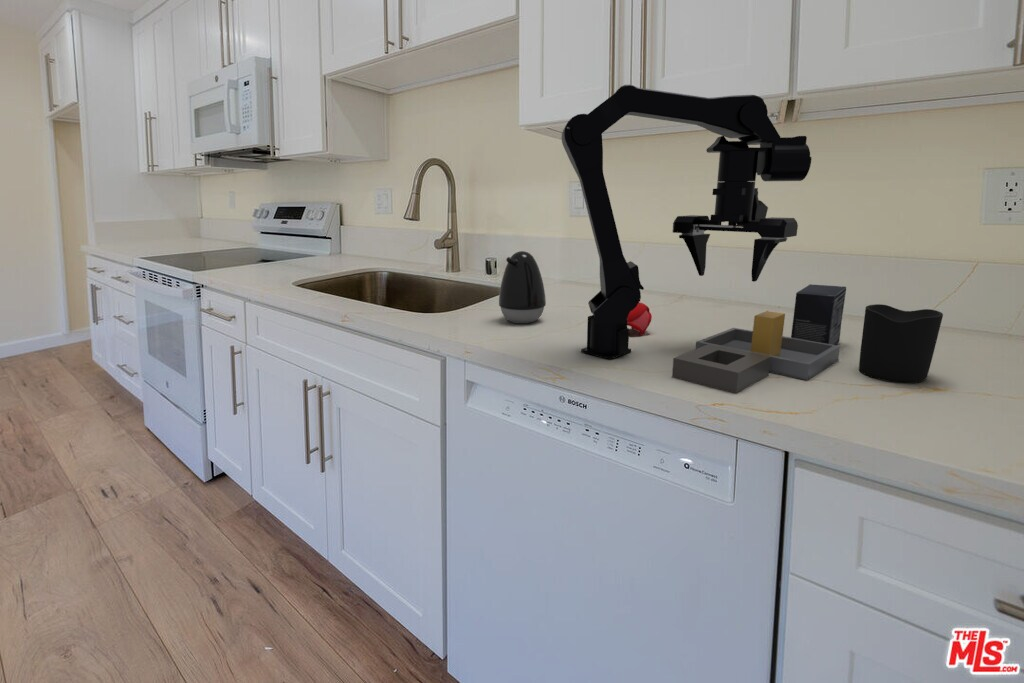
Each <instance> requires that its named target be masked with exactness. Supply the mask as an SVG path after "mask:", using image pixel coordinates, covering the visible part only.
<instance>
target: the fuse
mask: <svg viewBox="0 0 1024 683" xmlns="http://www.w3.org/2000/svg"><path fill="white" fill-rule="evenodd" d="M785 317H786V313H784V312H777V311H770V310H769V311H768V310H765V311H763V312H760V313H758V314H756V315H754V318H753V327H752V328H753V329H752V331H753V335H752V344H751V351H752V352H757V353H762V354H767V355H772V356H777V355H779V354H780V351H781V343H782V336H784V335H783V333H784V328H785V327H784V326H785V319H786V318H785Z"/></svg>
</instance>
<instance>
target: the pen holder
mask: <svg viewBox="0 0 1024 683" xmlns="http://www.w3.org/2000/svg"><path fill="white" fill-rule="evenodd" d="M864 310H865V311H864V316H863V317H864V320H863V327H862V336H861V345H860V352H859V353H860V354H859V360H858V361H859V362H858V368H859V370H860V372H861V373H862V374H864V375H866V376H868V377H870V378H873V379H877V380H881V381H887V382H891V383H892V382H893V383H900V384H916V383H921V382H923V381H924V380H926V379H928V376H929V373H930V372H929V371H930V368H931V364H932V361H933V357H934V353H935V349H936V345H937V341H938V336H939V333H940V329H941V325H942V322H943V317H944V314H943V313H942V312H941V311H938V310H937V309H929V308H927V309H926V308H925V309H918V310H902V309H899V308H897V307H892V306H891V305H887V304H882V303H881V304H880V303H879V304H877V303H875V304H869V305H866V306H865V309H864Z"/></svg>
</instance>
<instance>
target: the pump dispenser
mask: <svg viewBox="0 0 1024 683" xmlns="http://www.w3.org/2000/svg"><path fill="white" fill-rule="evenodd" d="M505 261H506V262H507V264H506V266H505V268H504V272H503V276H502V278H501V283H500V287H499V296H498V306H499V307H500V310H501V314H502V315H503V317H504V318H505V319H506V320H508V321H509V322H511V323H513V324H514V323H515V324H530V323H534V322H536V321H537V320H538V319H539V318H540V317H541V316H542V315H543V312H544V309H545V307H546V304H547V300H546V298H547V297H546V291H545V285H544V281H543V277H542V274H541V270H540V268H539V265H538V263H537V261H536V259H535V258H534V256H533V254H531V253H530V252H527V251H524V250H521V251H520V250H519V251H517V252H515V253H513V254H512V255H511V256H508V257H507V258H506V260H505Z"/></svg>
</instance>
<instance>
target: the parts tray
mask: <svg viewBox="0 0 1024 683" xmlns="http://www.w3.org/2000/svg"><path fill="white" fill-rule="evenodd" d="M752 335H753V330H751V329H744V328H738V327H737V328H736V327H731V328H729V329H727V330H724V331H721V332H719V333H716V334H713V335H711V336H708V337H705V338H703V339H700V340H697V341H696V342H695V349H697V348H700V347H702V346H705V345H707V344H711V345H716V346H721V347H726V348H731V349H736V350H741V351H746V352H751V353H757V352H752V351H751V344H752ZM840 349H841V345H838V344H837V345H832V344H826V343H820V342H814V341H808V340H803V339H797V338H791V336H785V335H782V343H781V351H780V354H779V355H777V356H772V355H767V354H762V353H757V354H762V355H767V356H771V360H770V368H769V373H770V374H771V373H772V374H776V375H781V376H785V377H790V378H794V379H797V380H798V379H799V380H803V381H808V380H810V379H812V378H813V377H815V376H816V375H818V374H819V373H821V372H822V371H824V370H825V369H827V368H829V367H830V366H832V365H834V364H835V363H836V362H838V361H839V358H840V356H839V355H840Z"/></svg>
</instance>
